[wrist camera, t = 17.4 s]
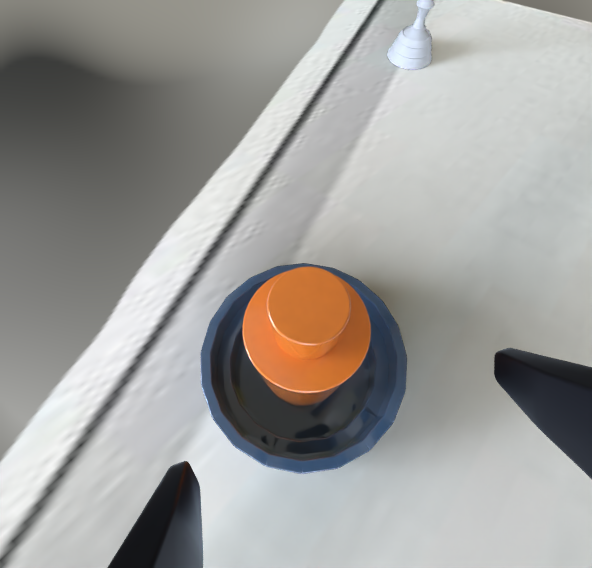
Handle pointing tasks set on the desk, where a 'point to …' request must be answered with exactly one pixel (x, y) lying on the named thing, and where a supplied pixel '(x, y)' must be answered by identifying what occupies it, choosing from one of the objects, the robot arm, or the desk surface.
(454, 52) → the desk surface
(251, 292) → the bowl
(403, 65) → the chalice
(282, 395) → the orange bottle
